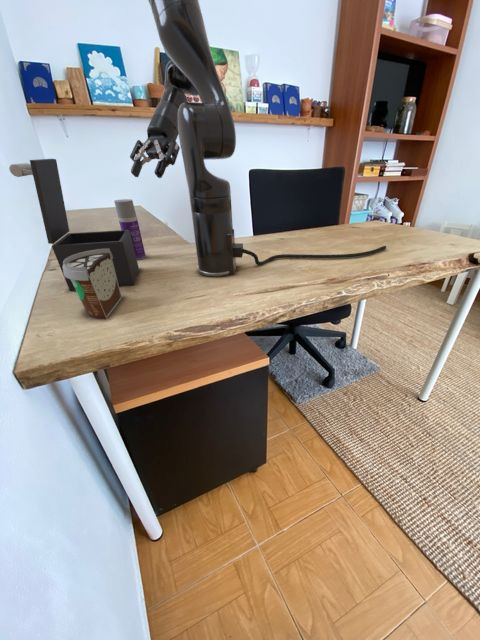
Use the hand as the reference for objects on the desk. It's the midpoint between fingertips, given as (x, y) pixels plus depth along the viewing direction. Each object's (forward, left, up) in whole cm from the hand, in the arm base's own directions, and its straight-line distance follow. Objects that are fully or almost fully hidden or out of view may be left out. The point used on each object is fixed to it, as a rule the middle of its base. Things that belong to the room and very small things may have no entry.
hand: (145, 175), depth 81 cm
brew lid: (+10, +27, -3) cm, 29 cm away
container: (+4, +9, -20) cm, 22 cm away
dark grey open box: (+5, +26, -20) cm, 33 cm away
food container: (-1, +42, -20) cm, 46 cm away
